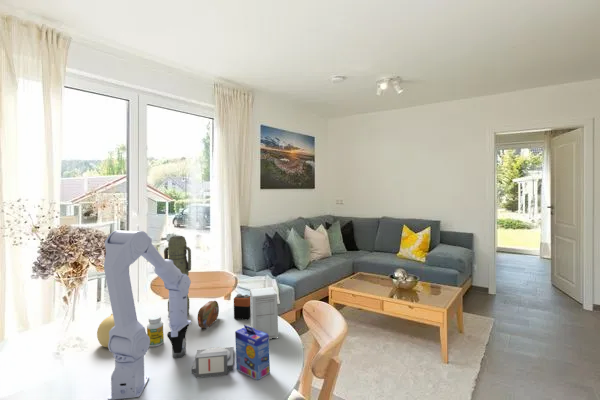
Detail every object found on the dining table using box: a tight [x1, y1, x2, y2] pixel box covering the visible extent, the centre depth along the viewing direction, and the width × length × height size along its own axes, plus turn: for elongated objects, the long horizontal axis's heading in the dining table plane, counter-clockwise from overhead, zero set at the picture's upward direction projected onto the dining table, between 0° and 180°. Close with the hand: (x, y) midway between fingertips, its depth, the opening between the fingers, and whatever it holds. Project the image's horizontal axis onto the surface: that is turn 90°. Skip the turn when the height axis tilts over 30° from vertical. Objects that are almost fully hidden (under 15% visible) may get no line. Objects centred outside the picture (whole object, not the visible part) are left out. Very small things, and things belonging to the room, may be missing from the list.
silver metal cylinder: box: [171, 337, 187, 359], centre depth 112 cm, size 4×4×5 cm
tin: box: [197, 300, 220, 329], centre depth 138 cm, size 15×3×8 cm, turn 170°
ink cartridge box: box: [234, 324, 271, 381], centre depth 101 cm, size 10×6×14 cm, turn 51°
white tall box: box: [249, 286, 279, 340], centre depth 127 cm, size 10×9×17 cm
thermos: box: [163, 235, 192, 318], centre depth 147 cm, size 9×12×35 cm
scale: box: [191, 346, 235, 379], centre depth 106 cm, size 15×12×6 cm
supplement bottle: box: [146, 315, 165, 348], centre depth 120 cm, size 5×5×10 cm
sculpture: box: [96, 313, 115, 348], centre depth 121 cm, size 11×12×11 cm
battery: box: [233, 293, 251, 321], centre depth 144 cm, size 4×7×10 cm, turn 80°
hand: (179, 349), depth 112 cm, fingers closed on silver metal cylinder, 4 cm apart
